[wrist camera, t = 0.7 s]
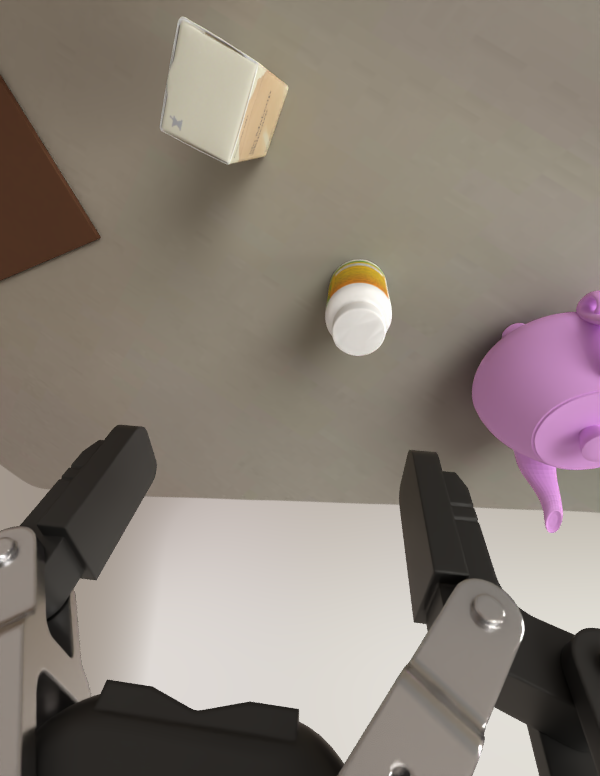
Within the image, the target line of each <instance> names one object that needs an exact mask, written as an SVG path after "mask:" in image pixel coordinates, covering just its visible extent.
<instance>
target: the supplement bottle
mask: <svg viewBox="0 0 600 776" xmlns="http://www.w3.org/2000/svg"><path fill="white" fill-rule="evenodd" d="M391 320H392V308H391V303H390V298H389V293H388V288H387V283H386V279H385V276H384V274H383V272H382V271H381V270H380V268H379V267H378V266H376V265H375V264H374V263H372V262H370V261H367V260H352V261H349V262H346V263H344V264H343V265H341V266H340V267H339V268H338V269H337V270H336V271H335V272H334V274H333V276H332V278H331V280H330V284H329V291H328V298H327V305H326V312H325V321H326V326H327V328H328V330H329V332H330V334H331V335H332V337H333V340H334V342H335V344H336V346H337V347H338V348H339V349H340V350H341V351H343V352H345V353H347V354H349V355H354V356H362V355H367V354H370V353H372V352H374V351H375V350H376V349H378V348H379V347H380V345H381V344H382V343H383V341H384V338H385V334H386V332H387V330H388V329H389V326H390V324H391Z"/></svg>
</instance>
